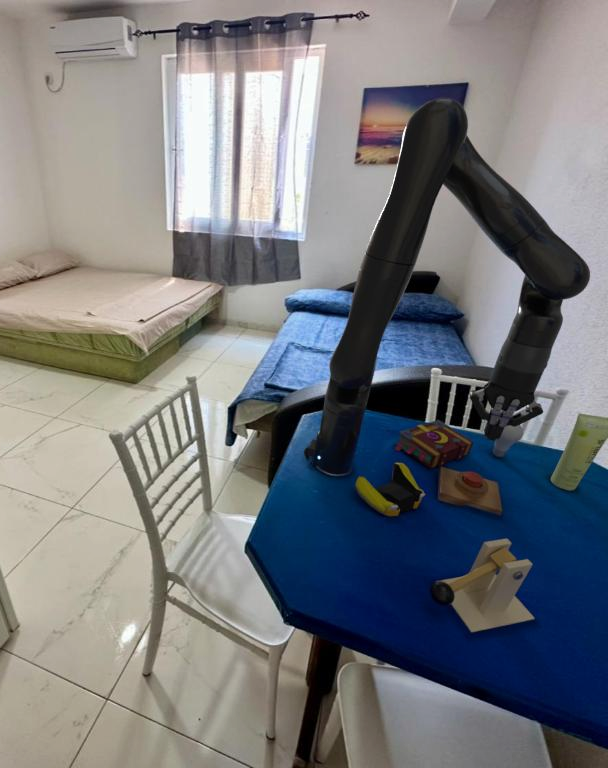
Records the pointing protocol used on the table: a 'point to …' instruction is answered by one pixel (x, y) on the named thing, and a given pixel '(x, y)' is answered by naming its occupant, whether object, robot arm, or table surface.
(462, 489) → the button block
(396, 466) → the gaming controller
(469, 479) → the button
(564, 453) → the tube
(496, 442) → the lightbulb
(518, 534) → the table surface
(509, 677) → the table surface
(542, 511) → the table surface
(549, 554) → the table surface
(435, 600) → the wooden lever handle
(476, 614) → the wooden lever stand
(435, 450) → the decorative book
